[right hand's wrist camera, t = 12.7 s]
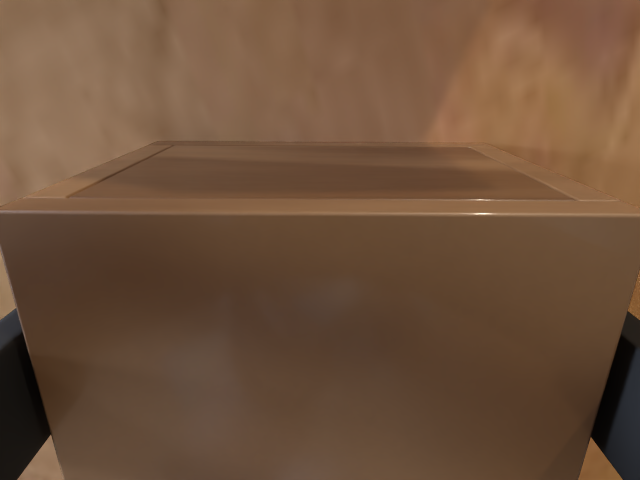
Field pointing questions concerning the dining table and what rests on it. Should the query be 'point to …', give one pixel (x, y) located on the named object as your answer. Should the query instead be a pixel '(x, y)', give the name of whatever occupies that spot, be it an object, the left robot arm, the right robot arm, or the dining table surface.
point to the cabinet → (320, 312)
